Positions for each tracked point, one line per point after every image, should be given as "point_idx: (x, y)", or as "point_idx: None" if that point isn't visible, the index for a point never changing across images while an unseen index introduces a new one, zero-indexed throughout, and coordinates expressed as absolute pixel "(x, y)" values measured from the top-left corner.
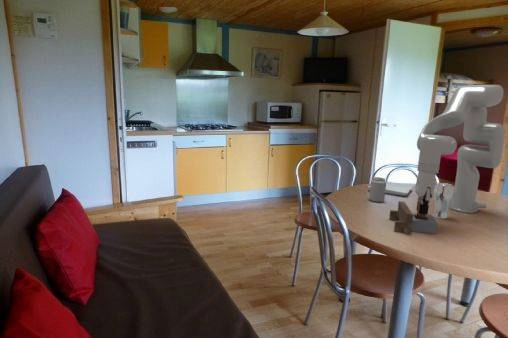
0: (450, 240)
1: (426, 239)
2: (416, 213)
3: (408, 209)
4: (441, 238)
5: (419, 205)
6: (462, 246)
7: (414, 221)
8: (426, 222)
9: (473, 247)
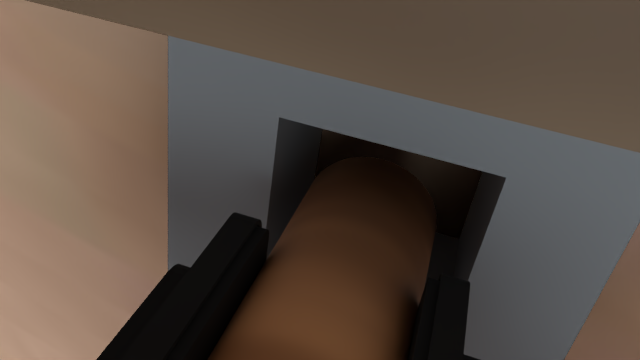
0: (102, 269)
1: (32, 52)
2: (601, 281)
3: (201, 7)
4: (122, 220)
5: (245, 352)
6: (10, 281)
7: (176, 43)
8: (173, 208)
9: (27, 340)
